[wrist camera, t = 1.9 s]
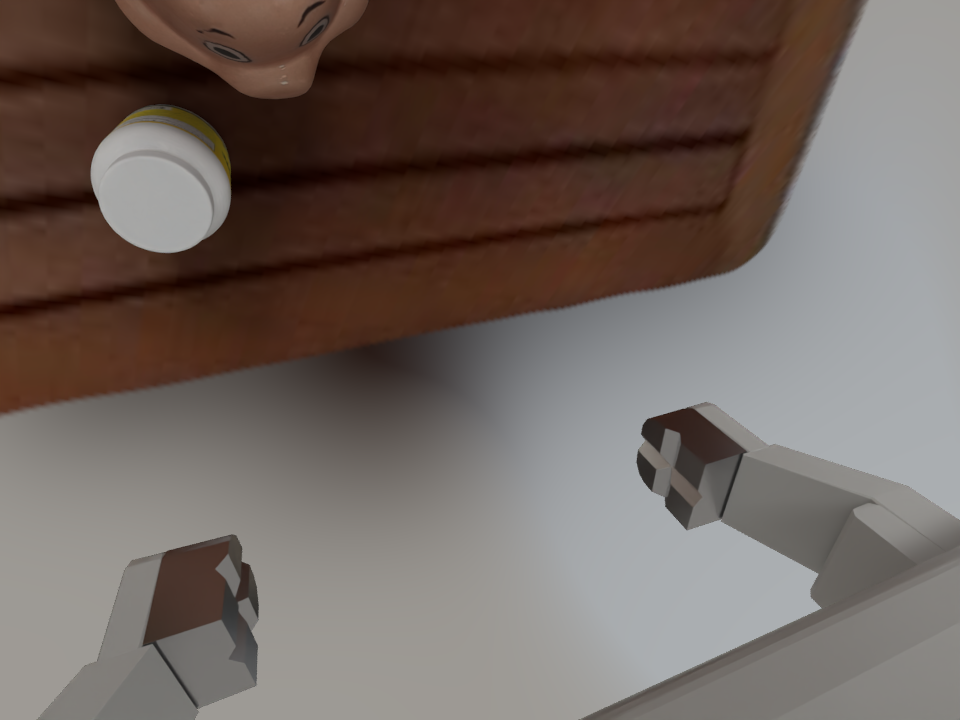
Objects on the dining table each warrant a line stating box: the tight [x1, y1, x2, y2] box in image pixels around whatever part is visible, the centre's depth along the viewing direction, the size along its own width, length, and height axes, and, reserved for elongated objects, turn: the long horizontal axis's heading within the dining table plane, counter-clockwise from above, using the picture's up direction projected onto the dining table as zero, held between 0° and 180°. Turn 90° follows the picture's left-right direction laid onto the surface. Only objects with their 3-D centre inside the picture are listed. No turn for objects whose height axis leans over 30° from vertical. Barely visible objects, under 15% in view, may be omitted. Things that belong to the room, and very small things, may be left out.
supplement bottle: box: [91, 104, 231, 253], centre depth 24 cm, size 5×5×10 cm
